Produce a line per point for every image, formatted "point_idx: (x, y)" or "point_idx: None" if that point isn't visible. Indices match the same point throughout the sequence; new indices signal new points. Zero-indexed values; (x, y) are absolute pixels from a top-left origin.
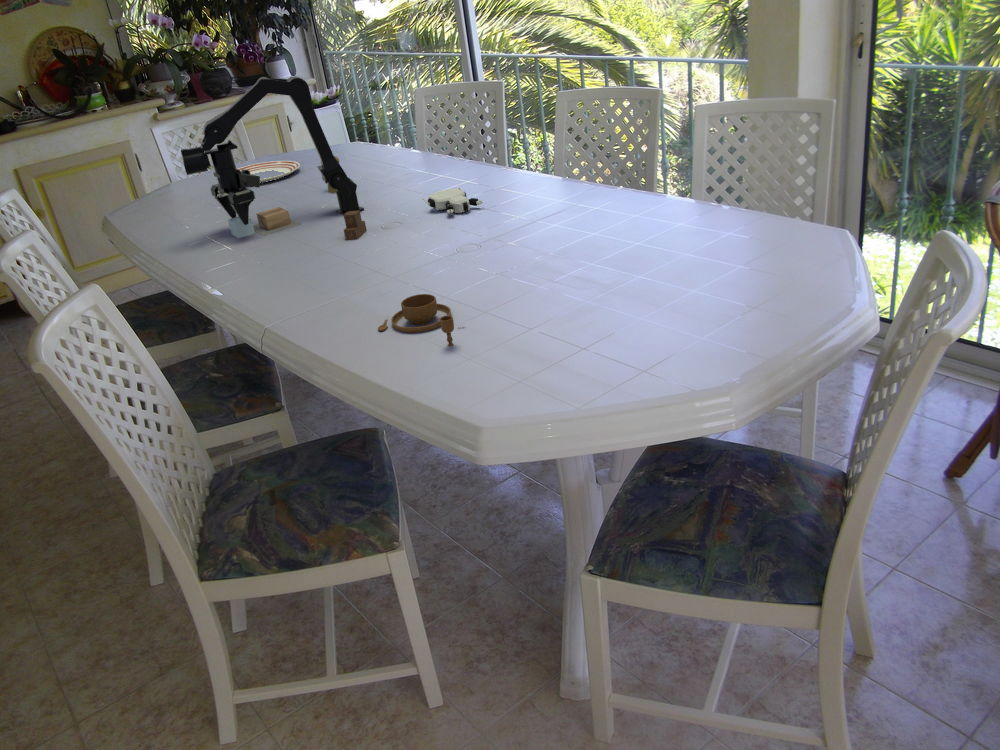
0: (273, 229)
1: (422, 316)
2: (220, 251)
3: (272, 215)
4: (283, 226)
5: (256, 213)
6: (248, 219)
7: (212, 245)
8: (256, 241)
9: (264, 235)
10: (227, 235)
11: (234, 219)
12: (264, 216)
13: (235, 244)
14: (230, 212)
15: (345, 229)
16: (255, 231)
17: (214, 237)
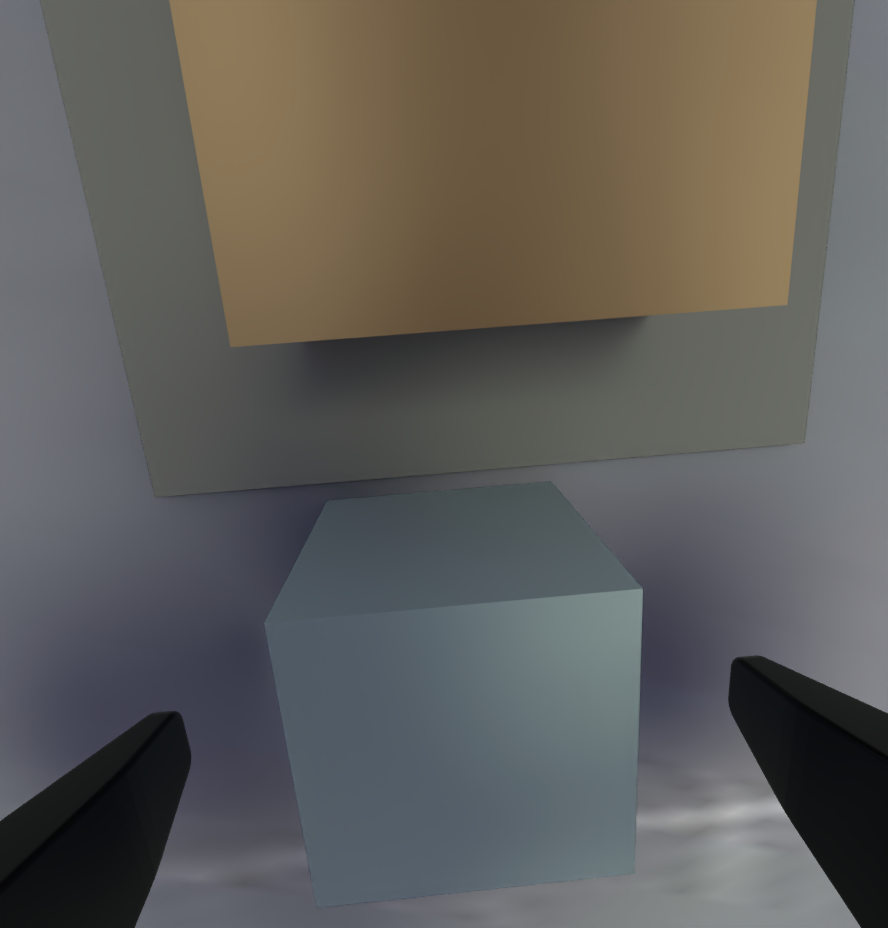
0: None
1: None
2: (775, 879)
3: (797, 116)
4: None
5: (232, 340)
6: (839, 692)
7: (498, 893)
8: (857, 560)
9: (796, 434)
10: (264, 723)
11: (437, 832)
12: (700, 298)
13: (710, 741)
14: (110, 921)
15: None
16: (488, 459)
17: (208, 832)
